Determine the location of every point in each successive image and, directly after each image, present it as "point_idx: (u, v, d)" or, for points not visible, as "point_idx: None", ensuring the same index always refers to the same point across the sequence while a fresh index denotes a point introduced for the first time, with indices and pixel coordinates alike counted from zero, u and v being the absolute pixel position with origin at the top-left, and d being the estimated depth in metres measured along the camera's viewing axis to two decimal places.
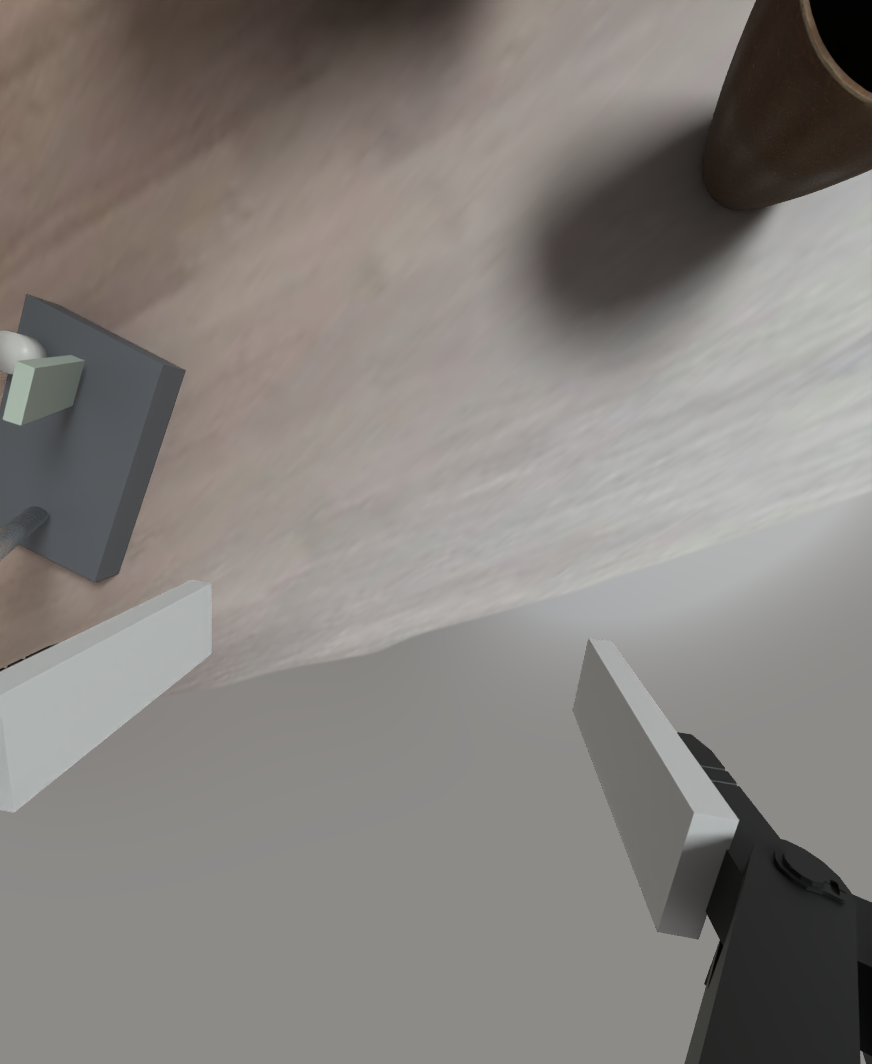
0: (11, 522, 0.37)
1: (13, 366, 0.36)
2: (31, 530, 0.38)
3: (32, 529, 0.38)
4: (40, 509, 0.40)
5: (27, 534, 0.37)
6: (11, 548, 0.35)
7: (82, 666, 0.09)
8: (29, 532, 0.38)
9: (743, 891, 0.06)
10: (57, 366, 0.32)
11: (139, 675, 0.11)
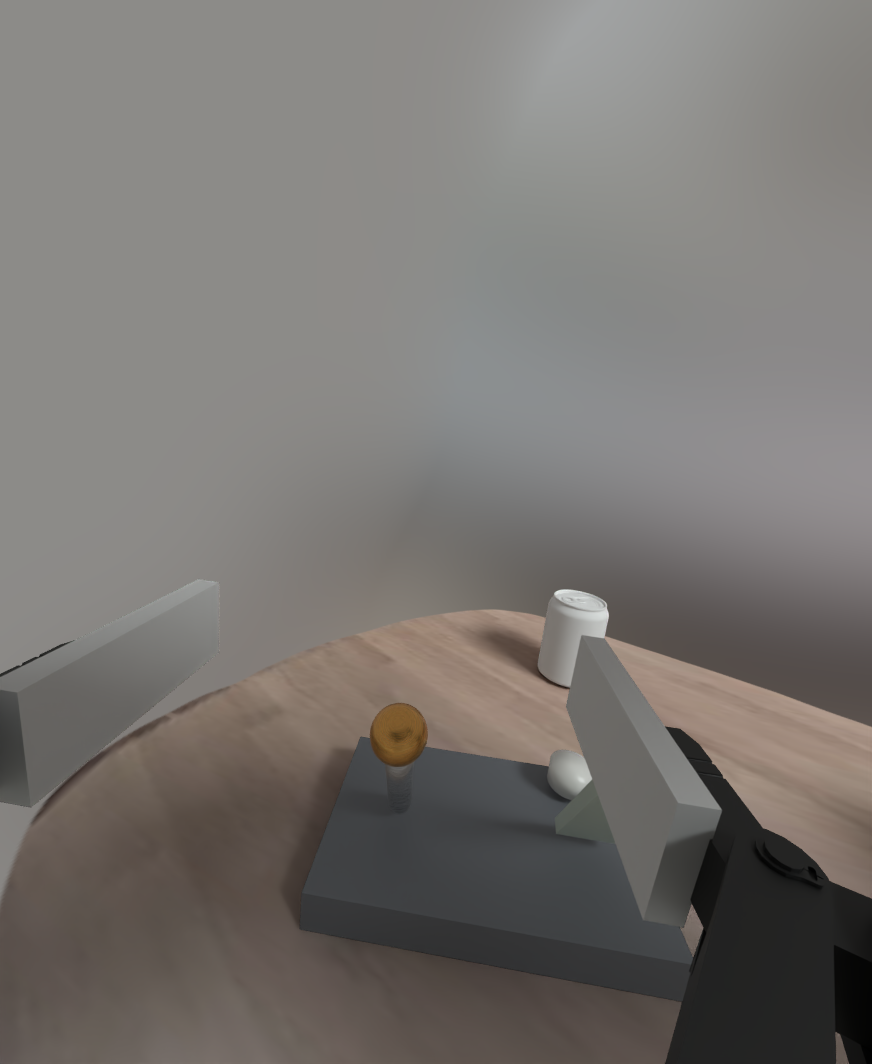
0: None
1: (563, 770, 0.34)
2: (399, 799, 0.28)
3: (399, 800, 0.28)
4: (410, 804, 0.31)
5: (398, 796, 0.28)
6: (398, 782, 0.26)
7: (96, 664, 0.10)
8: (399, 797, 0.28)
9: (725, 880, 0.06)
10: None
11: (150, 673, 0.11)
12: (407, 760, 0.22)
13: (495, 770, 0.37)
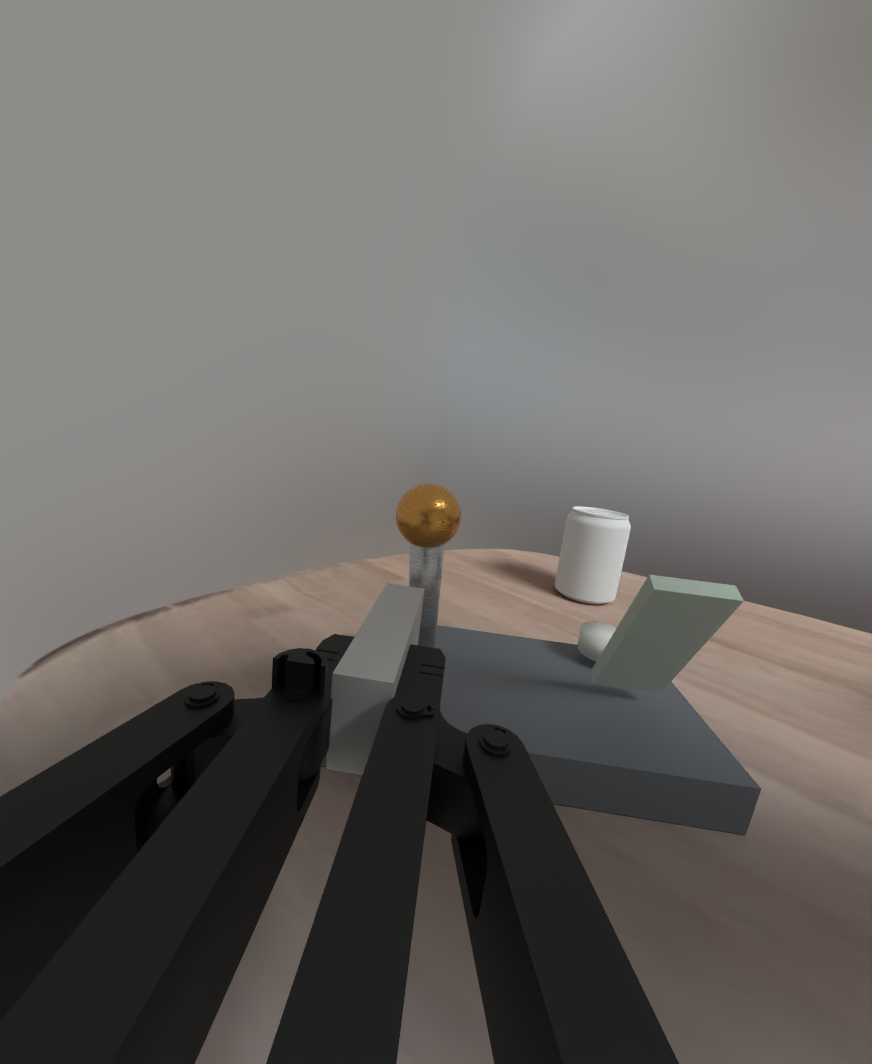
0: None
1: (596, 635, 0.32)
2: (423, 634, 0.26)
3: (423, 636, 0.26)
4: None
5: (422, 627, 0.25)
6: (424, 597, 0.23)
7: None
8: (423, 630, 0.25)
9: (374, 741, 0.08)
10: (701, 643, 0.23)
11: None
12: (440, 532, 0.19)
13: (521, 645, 0.34)
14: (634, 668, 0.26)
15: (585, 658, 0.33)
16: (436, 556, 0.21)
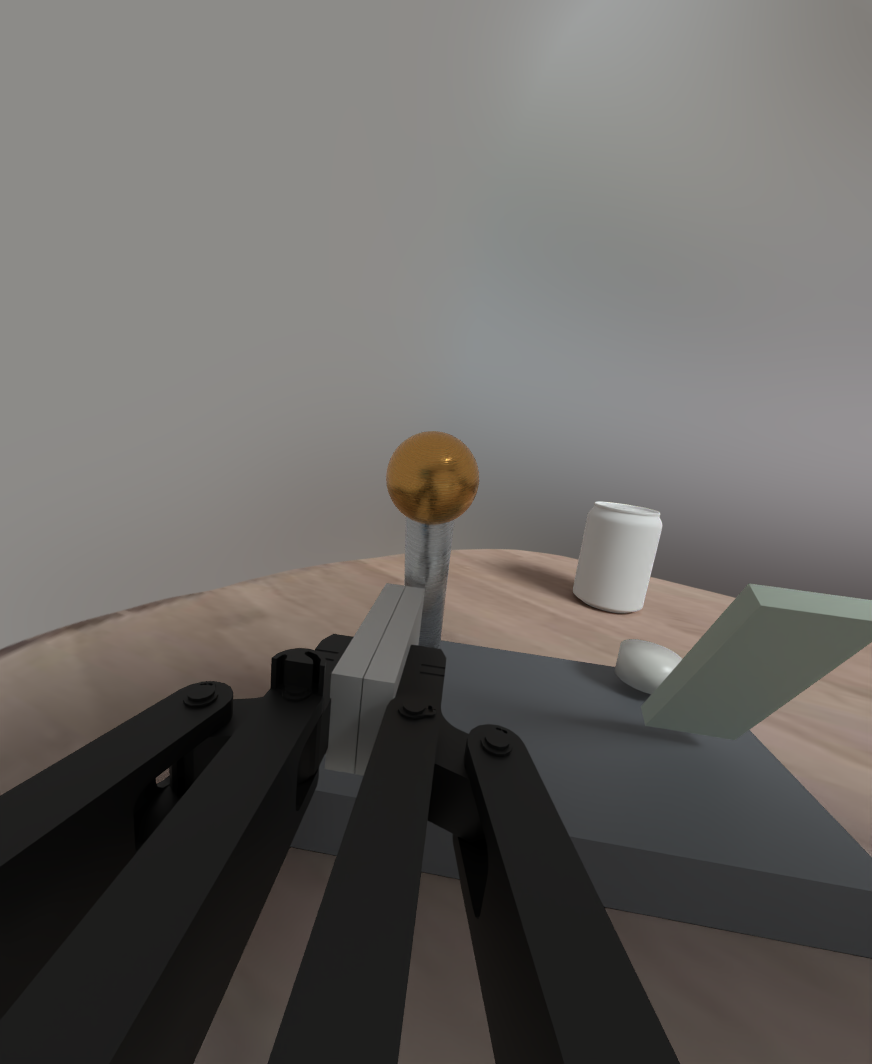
0: None
1: (641, 657, 0.25)
2: None
3: None
4: None
5: (421, 643, 0.19)
6: (424, 600, 0.17)
7: None
8: None
9: (375, 741, 0.08)
10: (812, 680, 0.17)
11: None
12: (449, 495, 0.13)
13: (543, 666, 0.28)
14: (706, 709, 0.19)
15: (625, 685, 0.27)
16: (442, 539, 0.15)
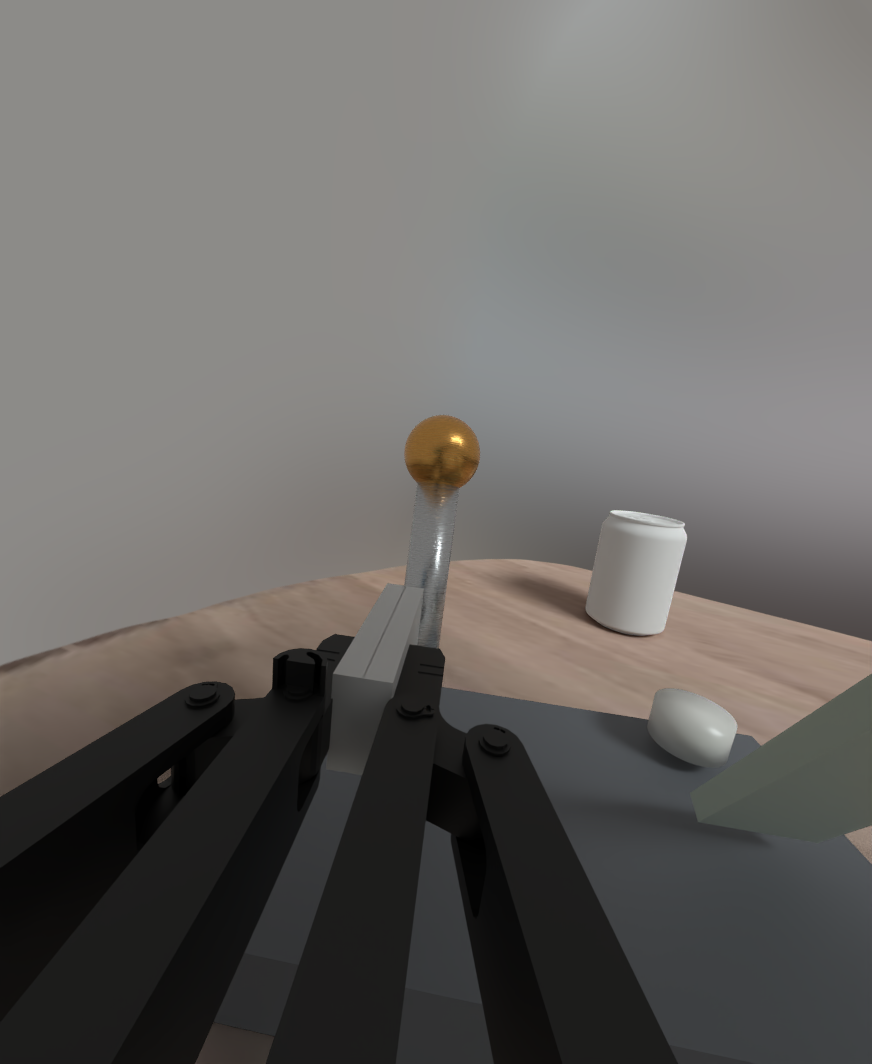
0: None
1: (683, 716, 0.20)
2: None
3: None
4: None
5: None
6: (426, 580, 0.17)
7: None
8: None
9: (373, 741, 0.08)
10: None
11: None
12: (459, 443, 0.16)
13: (559, 721, 0.23)
14: (787, 812, 0.14)
15: (660, 747, 0.22)
16: (449, 504, 0.17)
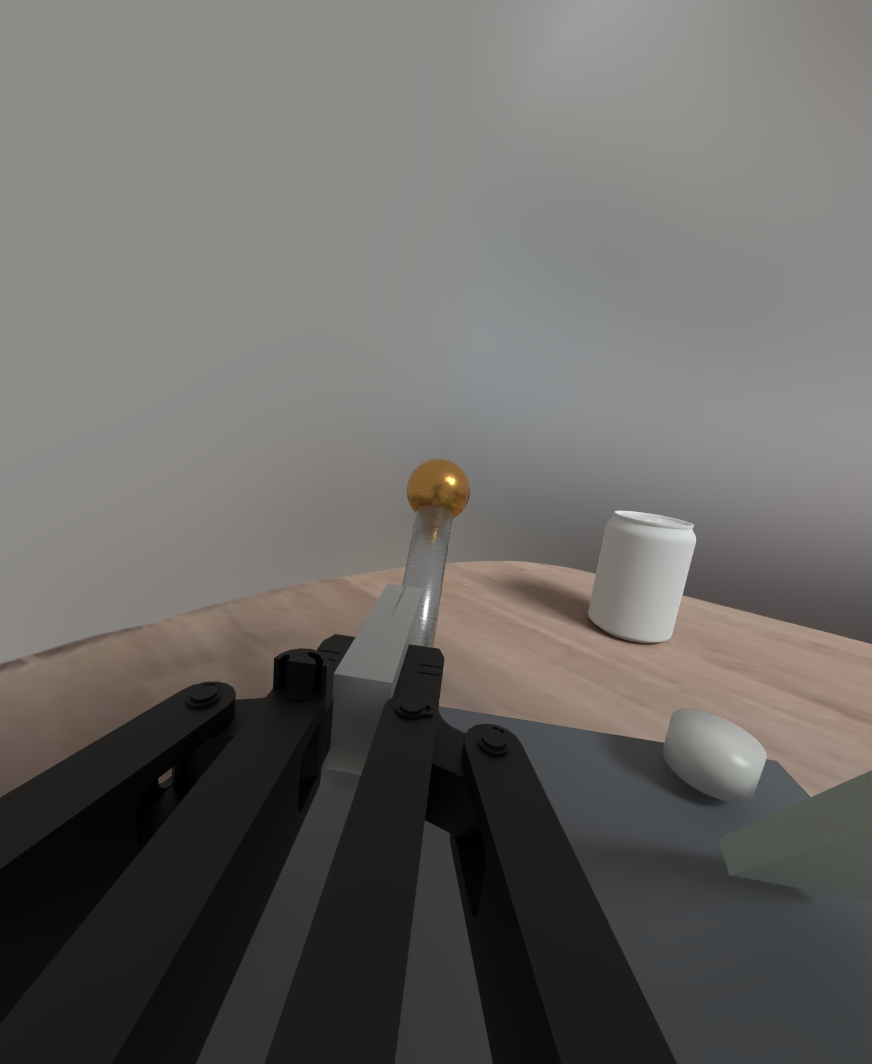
0: None
1: (705, 744, 0.18)
2: None
3: None
4: None
5: None
6: (422, 586, 0.18)
7: None
8: None
9: (372, 741, 0.08)
10: None
11: None
12: (453, 473, 0.20)
13: (564, 745, 0.20)
14: (841, 871, 0.12)
15: (677, 775, 0.19)
16: (444, 524, 0.19)
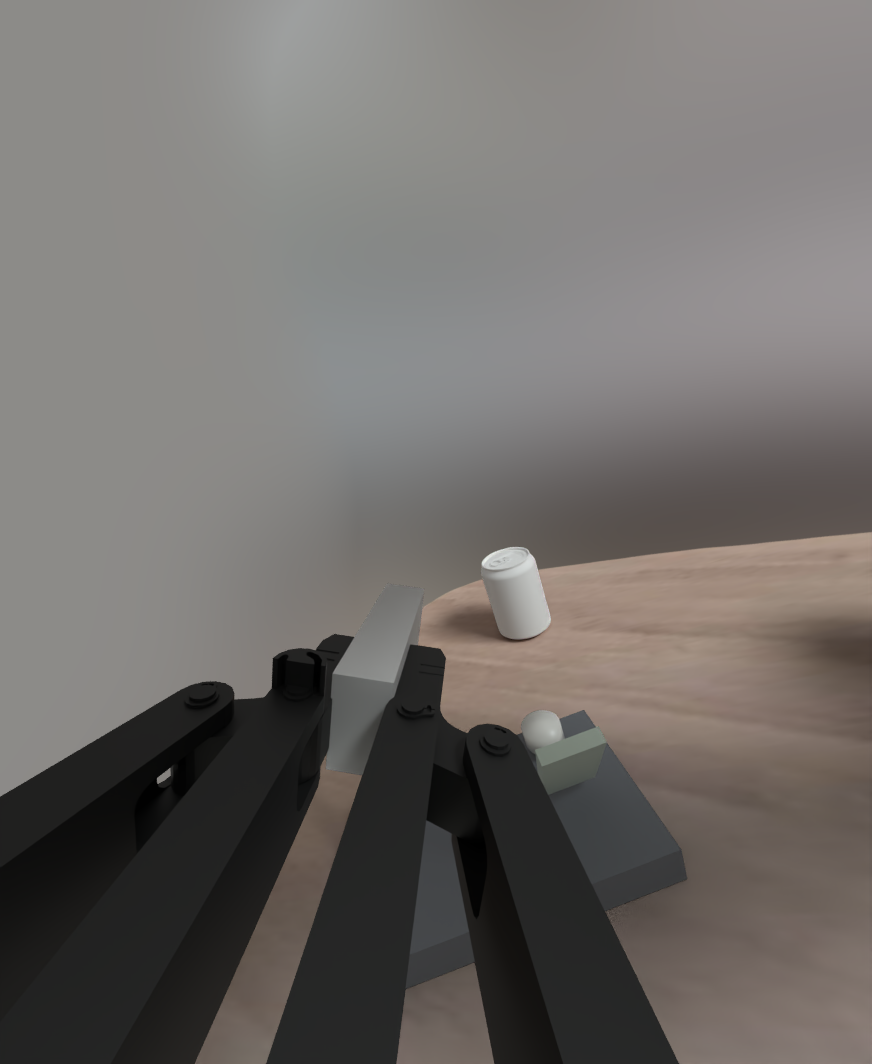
0: None
1: (534, 734, 0.37)
2: None
3: None
4: None
5: None
6: None
7: None
8: None
9: (374, 741, 0.08)
10: (599, 758, 0.29)
11: None
12: None
13: None
14: (565, 781, 0.31)
15: None
16: None
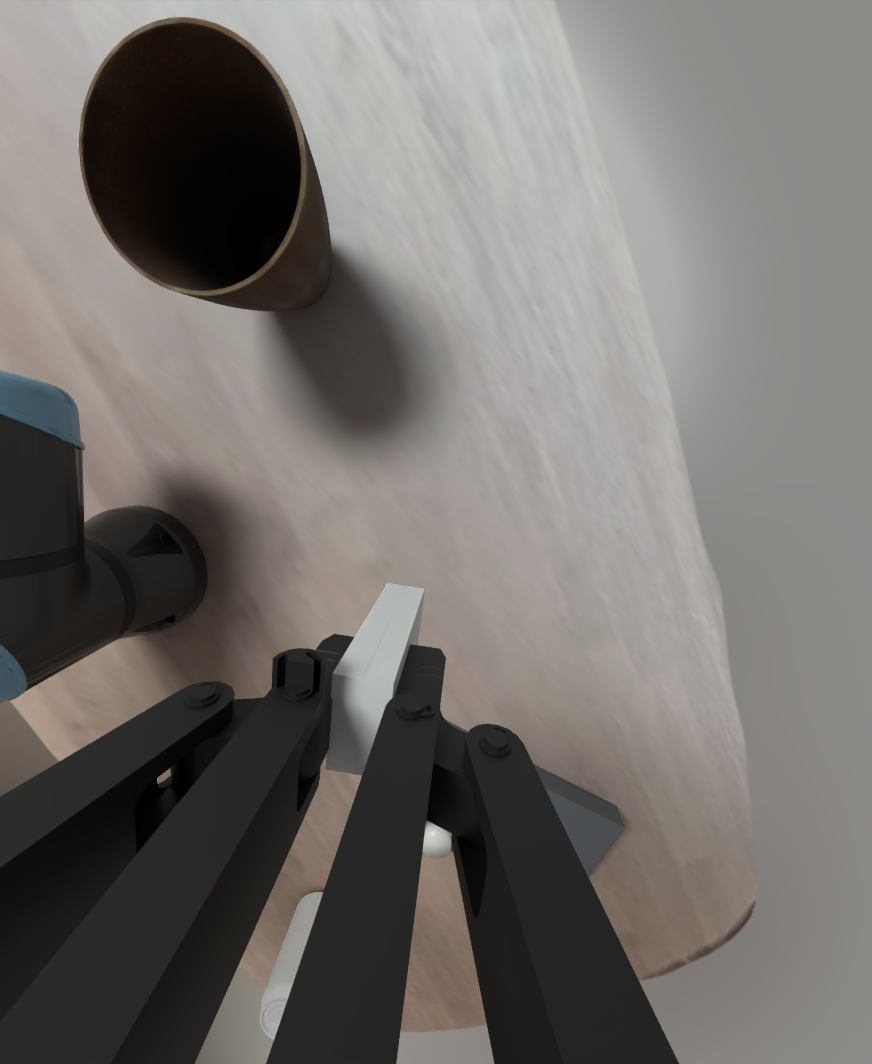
0: None
1: (445, 844, 0.48)
2: None
3: None
4: None
5: None
6: None
7: None
8: None
9: (374, 741, 0.08)
10: None
11: None
12: None
13: None
14: None
15: None
16: None
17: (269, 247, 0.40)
